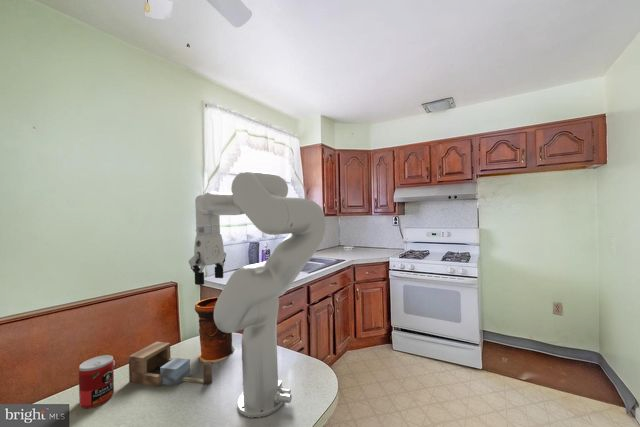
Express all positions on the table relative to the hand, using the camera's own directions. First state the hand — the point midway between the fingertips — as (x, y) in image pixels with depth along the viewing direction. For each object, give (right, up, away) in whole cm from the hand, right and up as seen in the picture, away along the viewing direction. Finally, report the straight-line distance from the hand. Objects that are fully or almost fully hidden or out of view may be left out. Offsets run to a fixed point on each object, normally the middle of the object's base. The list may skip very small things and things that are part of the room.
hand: (209, 281), depth 90 cm
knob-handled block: (-4, -30, -6) cm, 31 cm away
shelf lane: (-17, -31, -2) cm, 35 cm away
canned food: (-27, -31, -13) cm, 44 cm away
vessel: (-2, -31, +12) cm, 33 cm away
